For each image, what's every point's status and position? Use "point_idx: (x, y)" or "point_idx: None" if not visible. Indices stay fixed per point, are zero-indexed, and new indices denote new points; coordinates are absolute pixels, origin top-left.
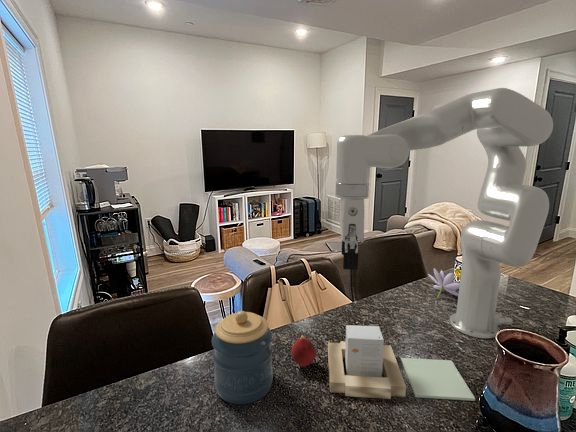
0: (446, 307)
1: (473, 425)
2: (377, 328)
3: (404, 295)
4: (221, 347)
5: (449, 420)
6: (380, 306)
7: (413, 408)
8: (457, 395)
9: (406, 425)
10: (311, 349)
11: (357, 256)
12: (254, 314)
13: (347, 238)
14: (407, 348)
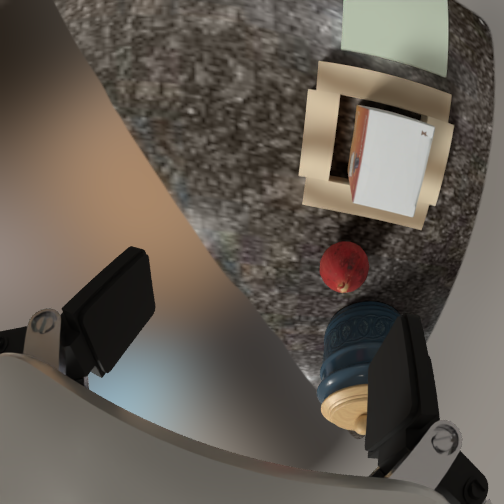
0: None
1: (489, 32)
2: (382, 119)
3: (88, 9)
4: None
5: (484, 58)
6: (126, 53)
7: (465, 96)
8: (443, 11)
9: (489, 128)
10: (360, 263)
11: (430, 391)
12: (347, 406)
13: (84, 365)
14: (296, 21)
